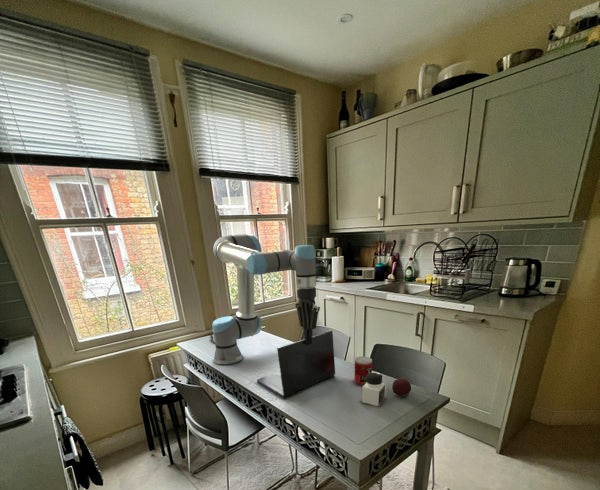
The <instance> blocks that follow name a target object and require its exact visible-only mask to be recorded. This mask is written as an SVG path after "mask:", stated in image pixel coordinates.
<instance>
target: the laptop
mask: <svg viewBox="0 0 600 490" xmlns="http://www.w3.org/2000/svg"><path fill="white" fill-rule="evenodd" d="M333 378H335V375H333V376H330V377H328V378H326V379H323V380H321V381H318V382H316V383H314V384H311V385H309V386H307V387H304V388H302V389H300V390H297V391H295V392H293V393H290V394H288V395H286V396H284V395H283V388H282V381H281V373H280V370H279V371H276V372H273V373H271V374H268V375H266V376H263V377H260V378H258V379H256V384H258V385H260V386H261V387H263V388H264V389H266V390H268V391H270V392H271V393H273V394H274V395H275V396H278V397H279V398H281V399H283V400H286V399H287V398H289V397H292V396H294V395H297V394H299V393H301V392H304V391H306V390H309V389H310V388H312V387H315V386H317V385H320V384H322V383H324V382H327V381H329V380H331V379H333Z"/></svg>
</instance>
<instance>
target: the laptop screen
mask: <svg viewBox="0 0 600 490" xmlns="http://www.w3.org/2000/svg"><path fill="white" fill-rule="evenodd" d="M276 351H277V357H278V364H279V371H280V373H281V381H282V388H283V395H284V396H286V395H288V394H290V393H293V392H295V391H297V390H300V389H302V388H304V387H307V386H309V385H311V384H314V383H316V382H318V381H321V380H323V379H326V378H328V377H330V376H333V375H334V376H335V375H336V363H335V347H334V333H333V330H330V331H326V332H323V333H320V334H317V335H313V336H312V344H310V345H305V338H304V339H301V340H298V341H294V342H291V343H287V344H285V345H282V346H279V347H276Z"/></svg>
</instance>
